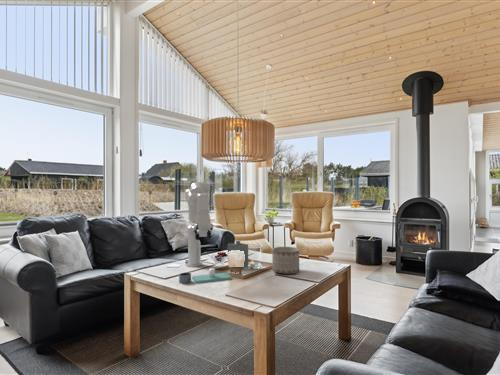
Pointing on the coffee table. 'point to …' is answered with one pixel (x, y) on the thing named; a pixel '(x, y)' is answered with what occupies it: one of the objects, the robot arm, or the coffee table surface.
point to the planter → (285, 260)
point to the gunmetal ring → (185, 278)
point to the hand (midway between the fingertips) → (203, 238)
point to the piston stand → (211, 277)
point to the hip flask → (242, 248)
